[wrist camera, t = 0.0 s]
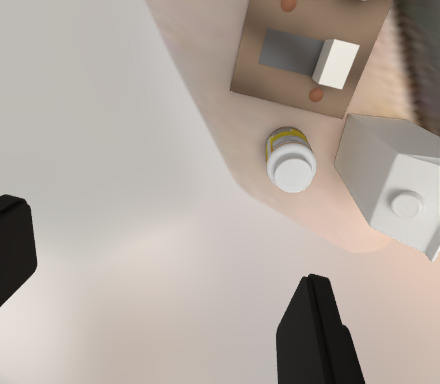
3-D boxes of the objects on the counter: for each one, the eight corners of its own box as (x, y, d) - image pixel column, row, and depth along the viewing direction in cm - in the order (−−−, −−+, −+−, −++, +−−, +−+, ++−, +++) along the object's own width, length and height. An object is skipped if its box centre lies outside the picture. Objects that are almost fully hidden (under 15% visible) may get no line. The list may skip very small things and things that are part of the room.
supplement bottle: (290, 172, 41) (298, 208, 32) (257, 151, 40) (256, 183, 31) (316, 139, 38) (332, 169, 29) (281, 117, 37) (287, 141, 28)
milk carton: (406, 119, 36) (535, 187, 19) (386, 171, 39) (480, 269, 22) (348, 112, 36) (422, 173, 19) (333, 165, 39) (385, 255, 23)
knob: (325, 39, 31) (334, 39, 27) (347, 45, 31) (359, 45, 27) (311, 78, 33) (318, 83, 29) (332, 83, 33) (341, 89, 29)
